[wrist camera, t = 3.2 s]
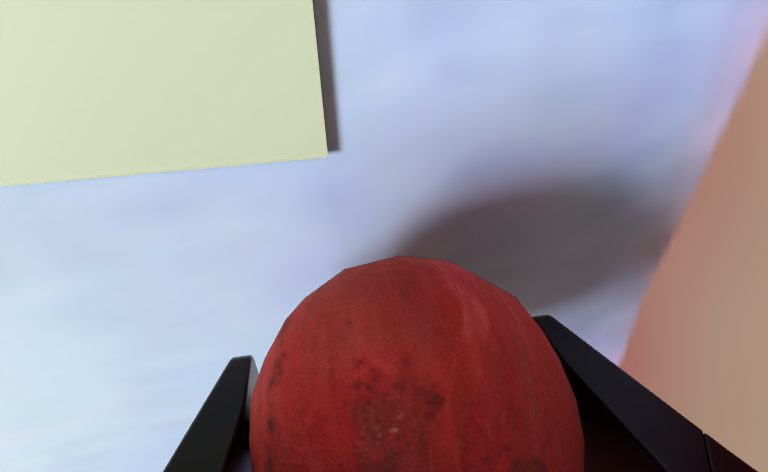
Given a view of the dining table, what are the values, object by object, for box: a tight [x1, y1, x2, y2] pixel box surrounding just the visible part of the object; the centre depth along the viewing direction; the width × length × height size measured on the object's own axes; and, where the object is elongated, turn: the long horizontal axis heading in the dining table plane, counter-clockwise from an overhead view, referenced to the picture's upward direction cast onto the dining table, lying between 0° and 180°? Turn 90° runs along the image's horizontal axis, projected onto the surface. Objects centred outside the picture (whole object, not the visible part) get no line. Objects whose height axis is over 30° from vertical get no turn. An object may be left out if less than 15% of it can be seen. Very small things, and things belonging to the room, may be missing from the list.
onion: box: [249, 256, 584, 472], centre depth 8 cm, size 6×6×8 cm
